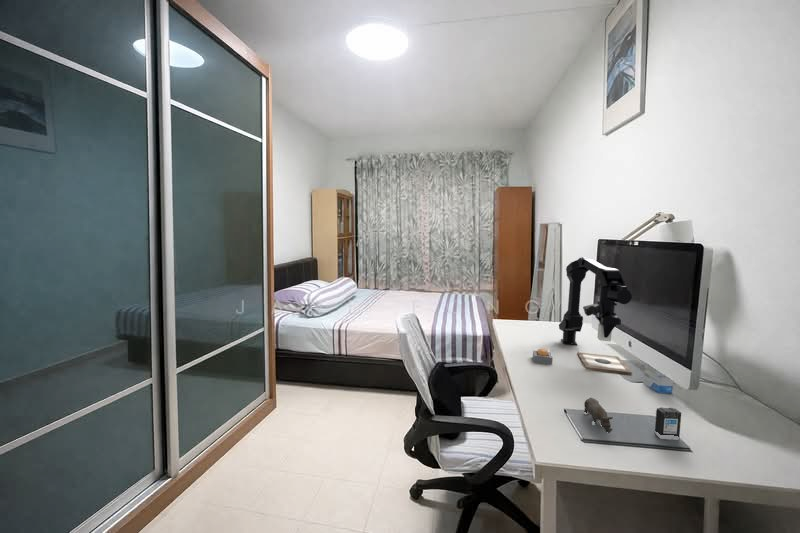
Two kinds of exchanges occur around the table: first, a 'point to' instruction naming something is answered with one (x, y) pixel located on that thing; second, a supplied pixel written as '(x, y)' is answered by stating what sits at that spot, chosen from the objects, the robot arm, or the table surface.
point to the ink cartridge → (668, 421)
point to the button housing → (542, 358)
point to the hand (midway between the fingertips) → (604, 335)
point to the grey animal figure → (598, 413)
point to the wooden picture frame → (603, 363)
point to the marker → (602, 334)
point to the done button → (542, 352)
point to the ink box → (657, 380)
